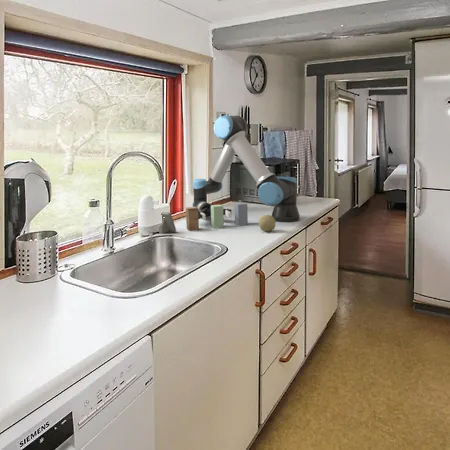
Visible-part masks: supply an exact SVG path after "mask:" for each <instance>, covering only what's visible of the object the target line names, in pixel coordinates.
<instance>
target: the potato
mask: <svg viewBox="0 0 450 450" xmlns="http://www.w3.org/2000/svg"><path fill="white" fill-rule="evenodd" d="M258 225H259V228H260V230H261V231H263V232H268V231H269V232H271V231H273V230H275V228H276V221H275V219H274V218H273V217H272V215H270V214H264V215H261V216H260V218H259V219H258Z"/></svg>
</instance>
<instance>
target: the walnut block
mask: <svg viewBox="0 0 450 450" xmlns="http://www.w3.org/2000/svg"><path fill="white" fill-rule="evenodd" d="M185 219H186V220H185V221H186V230H187V231H189V232H193V231H200V222H199V220H200V219H199V216H198V208H197V207H192V206H189V207H185Z"/></svg>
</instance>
